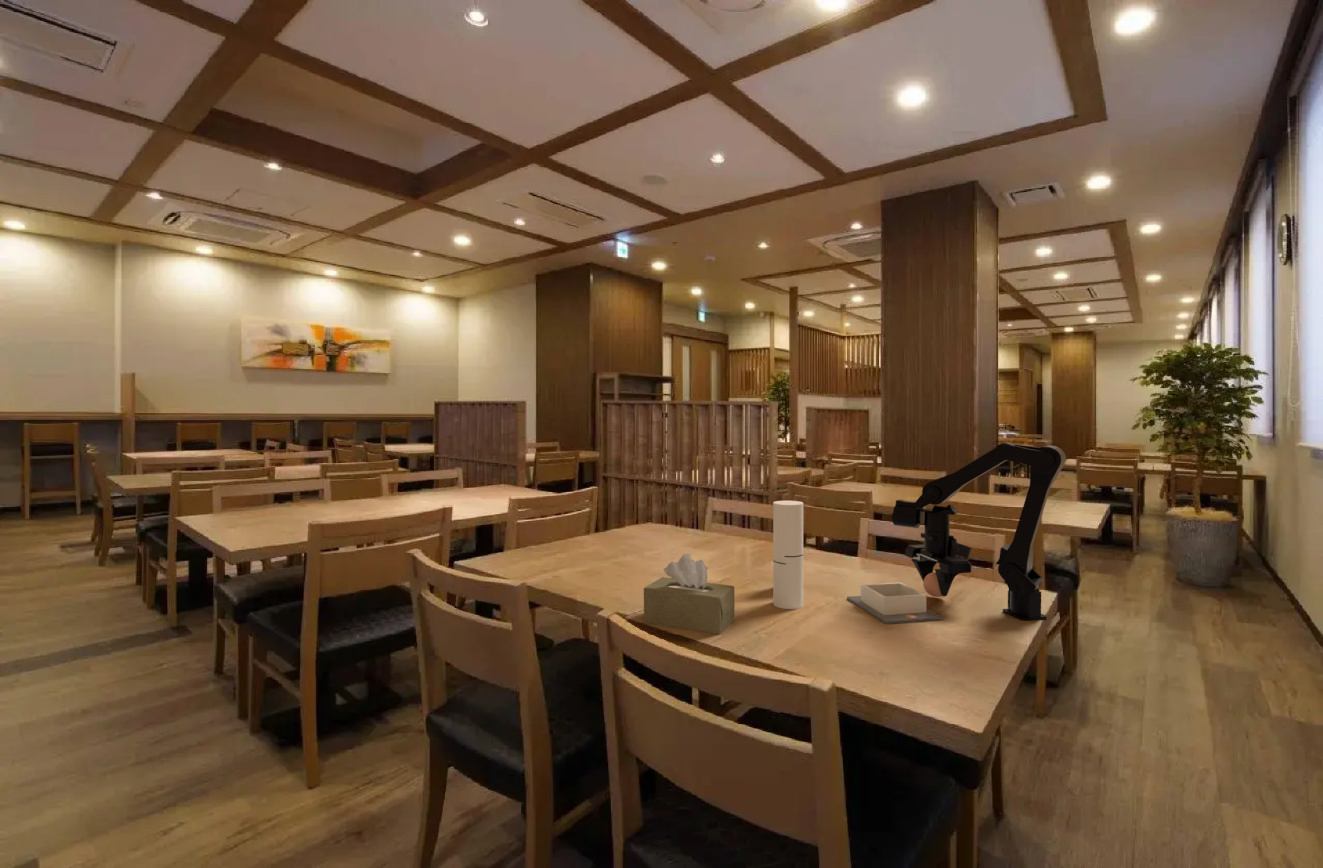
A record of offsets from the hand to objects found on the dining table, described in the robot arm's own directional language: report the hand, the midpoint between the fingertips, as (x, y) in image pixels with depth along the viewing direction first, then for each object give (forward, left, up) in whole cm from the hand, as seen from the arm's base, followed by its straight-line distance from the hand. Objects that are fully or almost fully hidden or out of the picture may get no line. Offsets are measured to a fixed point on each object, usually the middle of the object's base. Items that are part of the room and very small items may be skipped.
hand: (936, 592), depth 151 cm
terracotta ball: (0, 0, +2) cm, 2 cm away
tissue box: (-4, +64, -2) cm, 64 cm away
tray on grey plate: (-5, +15, -2) cm, 16 cm away
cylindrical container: (+3, +38, -2) cm, 38 cm away
